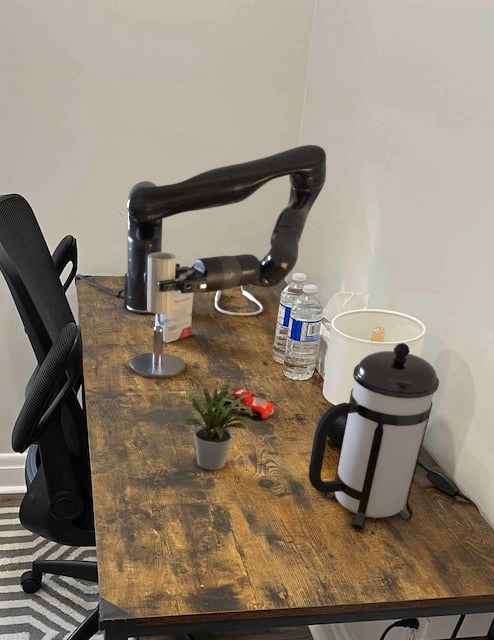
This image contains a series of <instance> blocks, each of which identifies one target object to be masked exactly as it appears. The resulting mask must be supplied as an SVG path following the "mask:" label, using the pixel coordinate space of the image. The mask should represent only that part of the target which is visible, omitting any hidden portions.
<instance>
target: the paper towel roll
mask: <svg viewBox="0 0 494 640" xmlns="http://www.w3.org/2000/svg"><path fill="white" fill-rule="evenodd" d="M176 264H177V256H176V254H174V253H170V252H163V251H162V252H157V253H151V254H149V255H148V290H147V310H148V311H149V312H151V313H150V314H155V315H156V314H168V313H171V312H173V311H174V298H175V291H174V290H173V291H166V292H159V291H158V282H159V281H165V280H174V281H175V269H176Z"/></svg>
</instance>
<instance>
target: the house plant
mask: <svg viewBox="0 0 494 640" xmlns="http://www.w3.org/2000/svg"><path fill="white" fill-rule="evenodd" d="M230 384H231V378H230V379H228V380H227V381H225V382H224V384H223V385H222V386H221V388H220V389H221V391H220V393H219V395H218V396H217V392H218V385H219V380H217V381H216V382H215V385H214V388H213V394H212V396H211V394H210V392H209V390H208V388H207V387H206V386H205V384H203V383H201V387H202V389H203V393H202V392H200V390H197V389H192V390H193V391H195V392H198V393H199V394H201V395H202V397H203V399H204V401H205V404H206V410H207V411H206V410H205V409H204V407H203V405H202V403H201V401H200V400H199V398H198V397H196V396H195V394H194V393H193V392H190V391H188V392H189V393H187V392H185V395H187V396H188V397H189V398H190V399H189V398H186V397H182V396H181V397H179V396H177V397H176V399H185V400H188V401H190V402H191V406H192V408H194V409H195V410H196V411H197V412H198V413H199V415H200V416H201V418H202V420H203V423H204V425H203V424H201V423H200V422H199V421H198V420H197V419H195V418H193V417H187V418H185V420H184V422H183V425H184V427H186V426H187V427H188V426H196V425H197V426H198V427H197V428H195V430H194V432H193V436H194V443H195V452H196V460H197V465H198V466H199V467H200V468H202V469H204V470H209V471H216V470H220V469H222V468H224V467H225V466H226V462H227V458H228V455H229V451H230V447H231V444H232V440H233V436H234V433H233V431H231V428H235V429H242V430H245V431H247V429H246V427H245V425H249V426H250V427H251V424H250V422H249V420H247V418H243V417H234V416H236V415H241V414H242V413H248V414H253V413H250V412H247V411H240V410H237V409H235V408H244V409H249V408H246V407H240V406H239V407H234V406H236V405H237V404H238V403H239V402H240V401H241V400H242V399H243V398H245V397H247V396H249V395H251V394H247V395H243V396H241V397H239V398H238V399H237V400H235V401H234V402H233V403H232V404H230V405H227V406H228V407H227V406H224V407H223V404H224V403H225V402H226V400H227V399H228V397H229V396H230V395H231V394H232V393H233V392H234V391H235V390H236V389H237V388H238V387H235V388H236V389H234V390H233V391H231V392H230V393H229V394H228V388H229V386H230ZM226 407H227V409H226V410H225V408H226ZM231 409H235V410H231ZM253 415H256V414H253ZM199 425H200V426H199ZM184 427H183V428H184Z"/></svg>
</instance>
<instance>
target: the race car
mask: <svg viewBox="0 0 494 640" xmlns="http://www.w3.org/2000/svg"><path fill="white" fill-rule="evenodd" d="M236 388H237V389H236ZM221 389H222V388H220V389H218V390H217V396H218V395H219V393H220V391H221ZM234 389H236V390H235V391H234V392H233V393H232V394H231V395H230V396H229V397H228V399H227V400H226V402H225V403H224V404H223V407H224V406H227V405H230V404H232V403H233V402H234V401H235V400H237V399H238V398H239V397H241V396H243V395H247V394H251V395H249V396H247V397H245V398H243V399H242V400H241V401H240V402H239V403H238V404H237V405H236V406H234V407H239V406H240V407H246V408H249V409H244V408H235V409H237V410H240V411H247V412H250V413H253V414H256V415H253V414H248V413H242V414H243V415H246V416H249V417H252V418H254V419H255V420H261V419H267V418H270V417H272V416H273V415H274V412H275V408H274V404H273V403H271V401H268V400H266V399H263V398H261V397H260V396H259V394H256V393H254V392H252V391H250V390H248V389H244V388H240V387H228V394H229V393H230V392H231V391H233V390H234ZM227 407H228V406H227ZM227 407H226V408H225V410H226V409H227ZM235 409H231V410H230V411H232V410H235Z"/></svg>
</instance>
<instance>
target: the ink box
mask: <svg viewBox="0 0 494 640" xmlns="http://www.w3.org/2000/svg"><path fill="white" fill-rule="evenodd" d="M193 304H194V293H184V294H183V293H181V291H178V292H177V291H175V298H174V311H173V312H171V313H168V314H155V323H154V324H155V325H154V328H155V327H156V326H161V327H162V328H163V343H166V344H167V343H171V342H174V341H177V340H180V339H184V338H187V337H190V336H191V334H192V319H193Z"/></svg>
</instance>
